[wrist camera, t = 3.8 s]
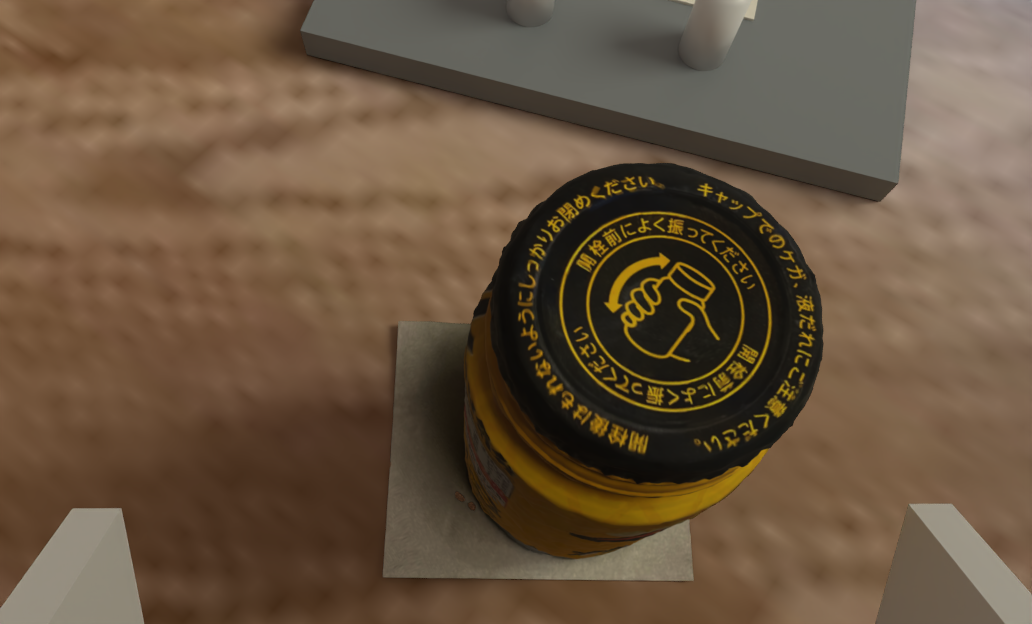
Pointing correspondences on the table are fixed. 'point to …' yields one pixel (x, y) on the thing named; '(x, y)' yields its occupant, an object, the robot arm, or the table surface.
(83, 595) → the robot arm
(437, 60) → the pin tray
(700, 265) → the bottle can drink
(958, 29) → the table surface
